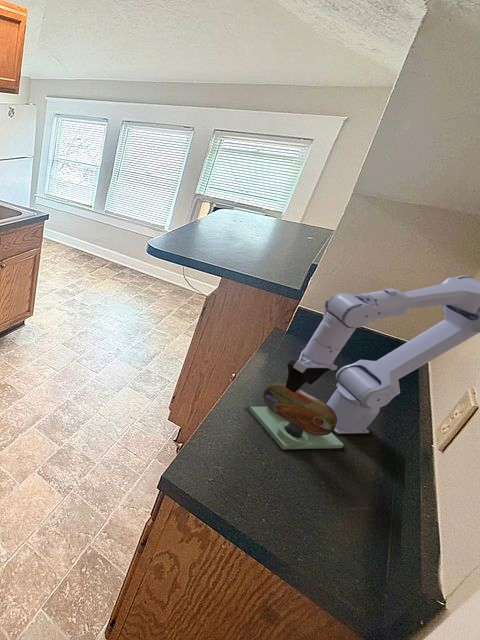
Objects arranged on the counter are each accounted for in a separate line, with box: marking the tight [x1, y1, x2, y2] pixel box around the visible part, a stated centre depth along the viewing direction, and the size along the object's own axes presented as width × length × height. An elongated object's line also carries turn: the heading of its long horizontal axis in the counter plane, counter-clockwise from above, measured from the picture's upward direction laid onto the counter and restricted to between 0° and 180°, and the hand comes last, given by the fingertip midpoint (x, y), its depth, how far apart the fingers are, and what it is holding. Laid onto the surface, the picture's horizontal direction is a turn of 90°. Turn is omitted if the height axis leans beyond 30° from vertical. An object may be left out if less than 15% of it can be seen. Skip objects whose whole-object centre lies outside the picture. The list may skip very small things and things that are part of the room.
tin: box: [262, 382, 337, 436], centre depth 95 cm, size 15×3×8 cm, turn 38°
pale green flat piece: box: [248, 406, 345, 450], centre depth 95 cm, size 16×12×3 cm
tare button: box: [285, 423, 303, 438], centre depth 90 cm, size 3×3×2 cm
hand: (298, 385), depth 94 cm, fingers open, 7 cm apart
